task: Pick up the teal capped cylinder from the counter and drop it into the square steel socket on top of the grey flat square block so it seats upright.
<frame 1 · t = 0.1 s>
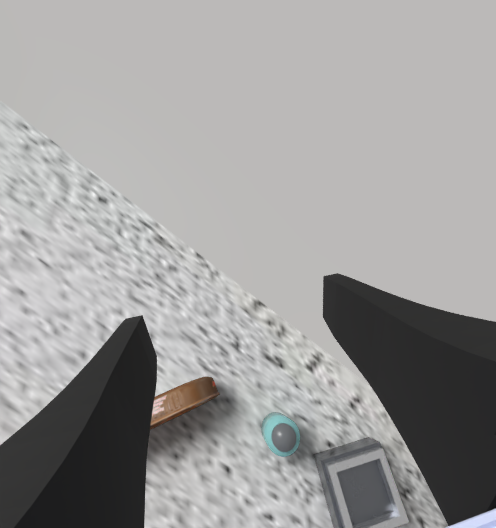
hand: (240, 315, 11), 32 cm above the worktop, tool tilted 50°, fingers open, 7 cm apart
teal capped cylinder: (276, 429, 37), on the worktop
tin: (165, 408, 38), on the worktop
grey flat square block: (352, 481, 36), on the worktop
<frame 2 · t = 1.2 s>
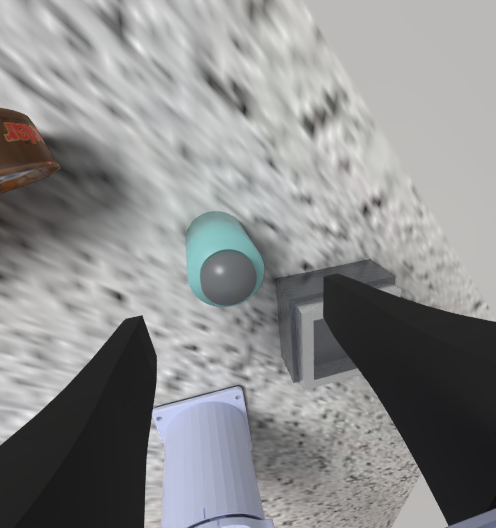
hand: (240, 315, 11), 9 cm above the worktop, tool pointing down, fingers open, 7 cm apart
teal capped cylinder: (215, 240, 19), on the worktop
grey flat square block: (323, 310, 24), on the worktop
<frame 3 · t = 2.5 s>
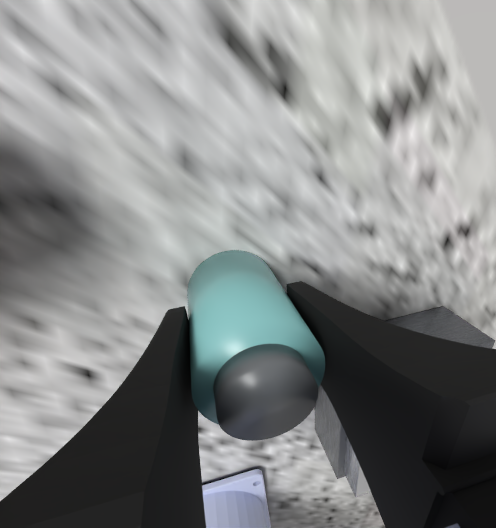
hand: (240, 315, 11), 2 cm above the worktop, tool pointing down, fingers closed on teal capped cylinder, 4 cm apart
teal capped cylinder: (232, 290, 13), on the worktop, touching gripper
grey flat square block: (374, 372, 17), on the worktop
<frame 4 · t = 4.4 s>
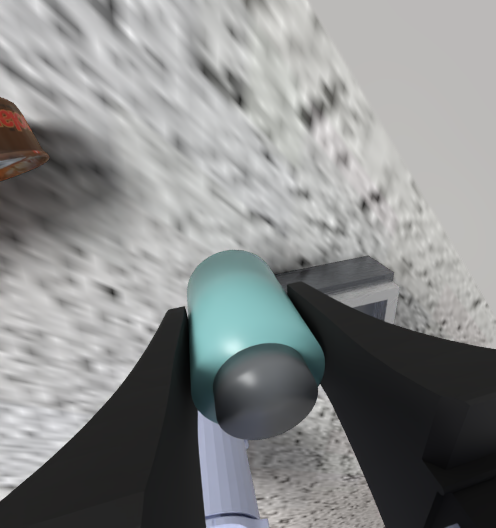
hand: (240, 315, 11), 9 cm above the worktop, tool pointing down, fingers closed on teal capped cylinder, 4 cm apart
teal capped cylinder: (231, 290, 13), point 7 cm above the worktop, touching gripper
grey flat square block: (320, 307, 23), on the worktop
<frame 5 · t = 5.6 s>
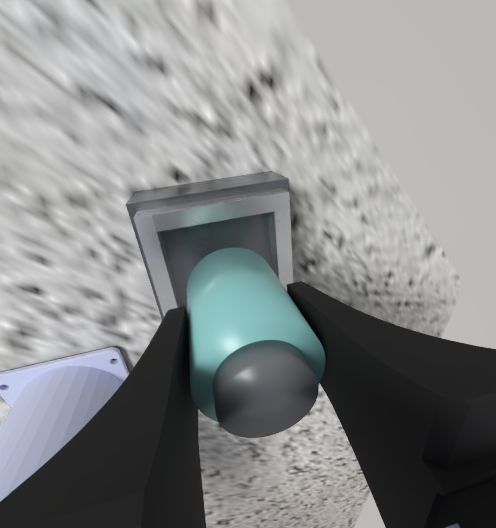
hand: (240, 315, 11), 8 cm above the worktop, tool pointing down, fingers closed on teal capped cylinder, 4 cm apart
teal capped cylinder: (231, 288, 13), point 6 cm above the worktop, touching gripper
grey flat square block: (216, 244, 18), on the worktop
when the fingers open (6 cm above the worktop, at t = 6.3 s): teal capped cylinder stays where it is, resting on grey flat square block.
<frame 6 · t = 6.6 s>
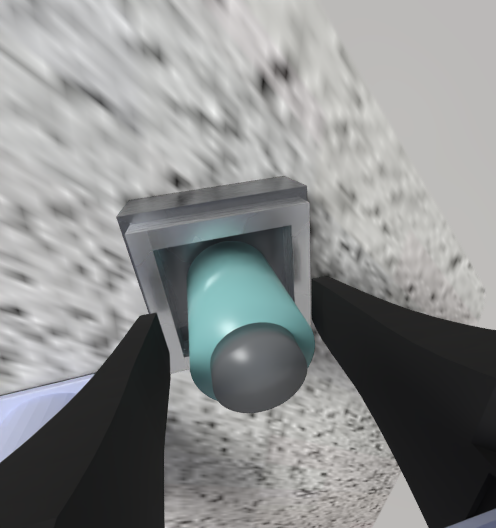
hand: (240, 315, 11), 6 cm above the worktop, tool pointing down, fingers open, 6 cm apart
teal capped cylinder: (229, 280, 13), point 3 cm above the worktop, touching grey flat square block
grey flat square block: (221, 257, 16), on the worktop
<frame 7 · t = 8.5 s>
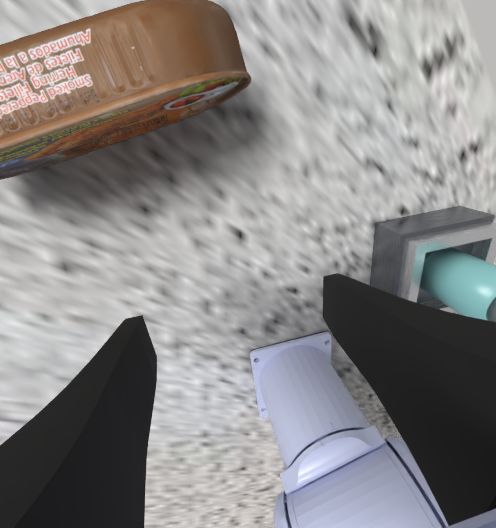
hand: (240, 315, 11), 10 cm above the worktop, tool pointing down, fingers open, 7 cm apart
teal capped cylinder: (439, 269, 22), point 3 cm above the worktop, touching grey flat square block
tin: (106, 113, 16), on the worktop
grey flat square block: (411, 256, 25), on the worktop
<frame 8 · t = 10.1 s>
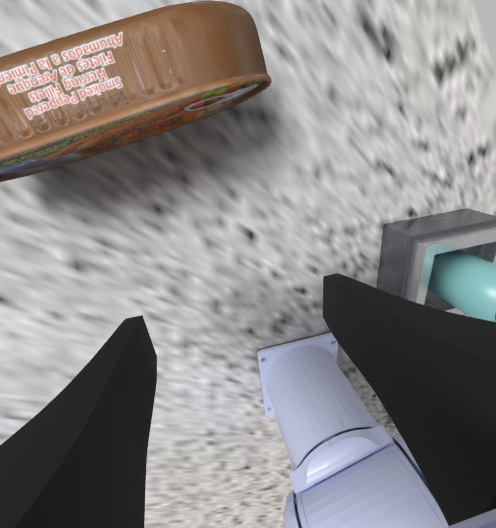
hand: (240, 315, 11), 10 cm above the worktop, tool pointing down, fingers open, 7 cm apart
teal capped cylinder: (446, 271, 23), point 3 cm above the worktop, touching grey flat square block
tin: (122, 113, 16), on the worktop
grey flat square block: (418, 258, 25), on the worktop
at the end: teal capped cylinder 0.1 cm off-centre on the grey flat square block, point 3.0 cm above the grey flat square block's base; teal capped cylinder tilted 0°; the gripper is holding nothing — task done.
